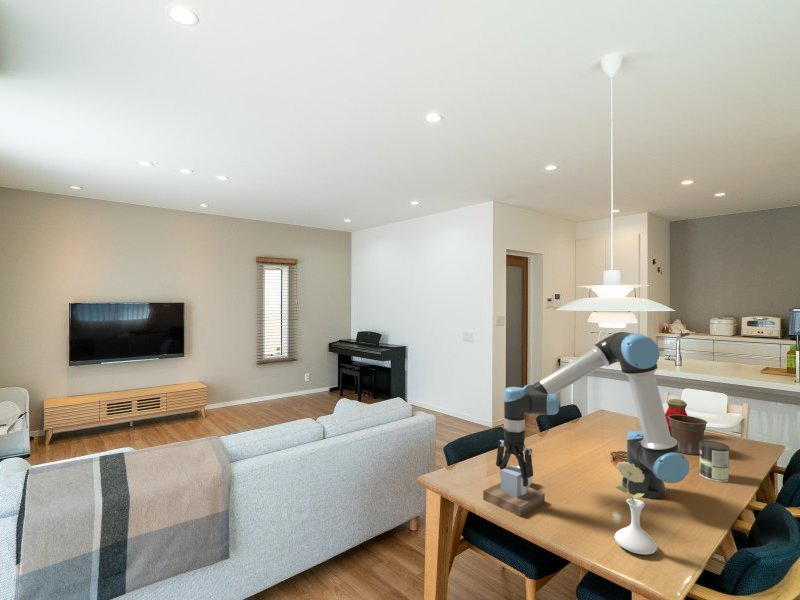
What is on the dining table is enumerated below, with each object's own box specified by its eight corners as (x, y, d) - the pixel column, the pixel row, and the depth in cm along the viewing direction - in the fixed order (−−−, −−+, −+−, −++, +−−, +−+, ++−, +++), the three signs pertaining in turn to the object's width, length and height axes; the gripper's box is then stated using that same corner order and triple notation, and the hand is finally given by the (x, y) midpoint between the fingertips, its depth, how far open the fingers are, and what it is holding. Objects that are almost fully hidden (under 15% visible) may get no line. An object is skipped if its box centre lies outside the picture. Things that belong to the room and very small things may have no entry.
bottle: (686, 433, 237) (687, 398, 237) (698, 440, 224) (698, 404, 224) (656, 430, 240) (656, 396, 240) (665, 438, 227) (665, 402, 227)
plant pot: (696, 446, 215) (696, 415, 215) (714, 457, 199) (714, 424, 199) (662, 444, 218) (662, 413, 218) (677, 455, 202) (677, 422, 202)
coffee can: (696, 476, 177) (697, 444, 177) (701, 470, 185) (701, 438, 185) (727, 484, 170) (727, 450, 170) (730, 477, 177) (731, 444, 177)
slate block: (527, 492, 154) (527, 471, 154) (516, 498, 150) (516, 476, 150) (511, 485, 160) (511, 465, 160) (500, 491, 155) (500, 470, 155)
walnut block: (544, 503, 154) (544, 493, 154) (520, 518, 143) (520, 506, 143) (508, 488, 166) (508, 478, 166) (483, 501, 155) (483, 490, 155)
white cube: (531, 483, 170) (532, 469, 170) (527, 489, 165) (527, 474, 165) (517, 479, 173) (517, 465, 173) (512, 485, 168) (512, 470, 168)
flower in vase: (666, 555, 122) (667, 471, 122) (636, 561, 119) (636, 475, 119) (630, 531, 135) (631, 455, 135) (601, 536, 132) (602, 458, 132)
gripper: (544, 433, 149) (543, 497, 149) (497, 421, 165) (497, 478, 165) (532, 438, 145) (532, 503, 145) (486, 424, 160) (485, 483, 160)
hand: (513, 490), depth 155 cm, fingers open, 7 cm apart
